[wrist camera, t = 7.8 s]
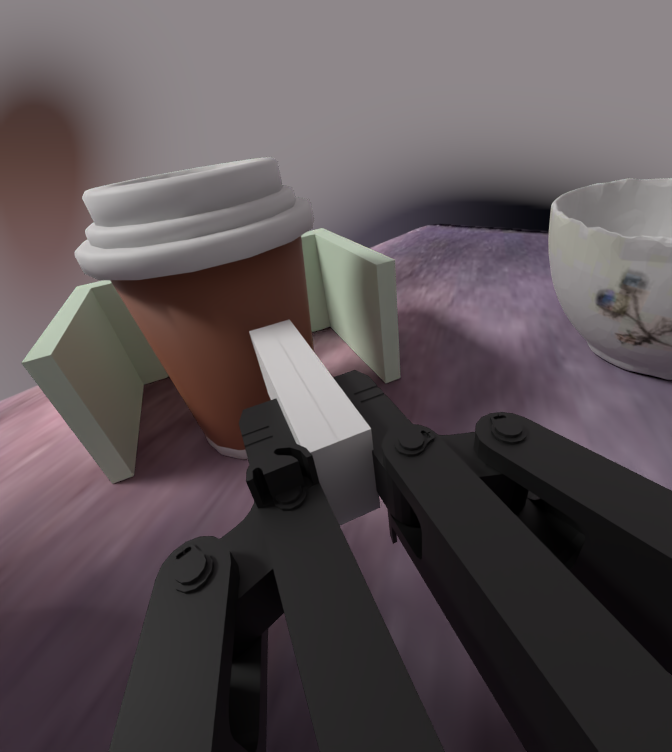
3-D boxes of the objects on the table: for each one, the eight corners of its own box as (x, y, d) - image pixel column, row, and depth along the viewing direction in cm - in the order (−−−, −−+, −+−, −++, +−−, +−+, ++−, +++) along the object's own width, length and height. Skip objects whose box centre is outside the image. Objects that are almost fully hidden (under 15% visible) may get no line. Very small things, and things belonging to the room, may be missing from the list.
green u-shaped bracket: (112, 483, 17) (21, 362, 13) (130, 380, 25) (76, 286, 22) (400, 378, 21) (394, 259, 17) (336, 317, 29) (322, 228, 25)
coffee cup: (224, 371, 25) (150, 174, 18) (355, 368, 23) (325, 145, 16) (146, 477, 17) (-29, 212, 11) (328, 486, 15) (253, 168, 9)
